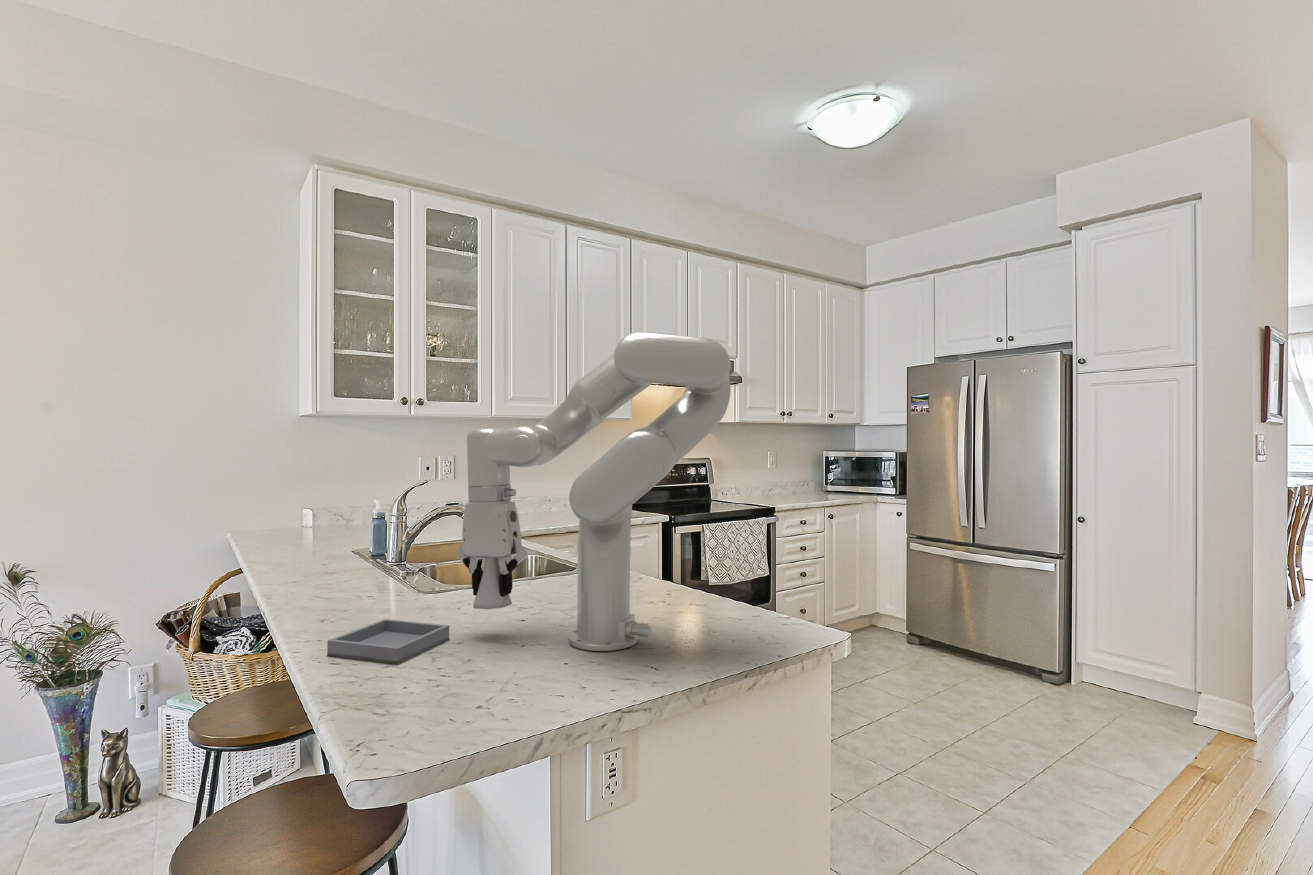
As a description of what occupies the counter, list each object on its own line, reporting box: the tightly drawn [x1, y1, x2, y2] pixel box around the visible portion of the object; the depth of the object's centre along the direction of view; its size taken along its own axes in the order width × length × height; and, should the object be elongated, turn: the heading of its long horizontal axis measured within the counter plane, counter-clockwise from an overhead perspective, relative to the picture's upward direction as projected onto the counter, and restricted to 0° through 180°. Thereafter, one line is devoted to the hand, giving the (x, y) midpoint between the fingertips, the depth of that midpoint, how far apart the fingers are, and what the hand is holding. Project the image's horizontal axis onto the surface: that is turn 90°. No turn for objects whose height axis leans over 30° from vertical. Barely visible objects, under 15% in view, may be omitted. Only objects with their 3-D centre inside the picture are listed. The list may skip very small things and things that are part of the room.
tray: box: [326, 618, 450, 666], centre depth 113 cm, size 14×14×3 cm
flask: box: [472, 558, 513, 610], centre depth 119 cm, size 7×7×10 cm
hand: (492, 593), depth 119 cm, fingers closed on flask, 4 cm apart
